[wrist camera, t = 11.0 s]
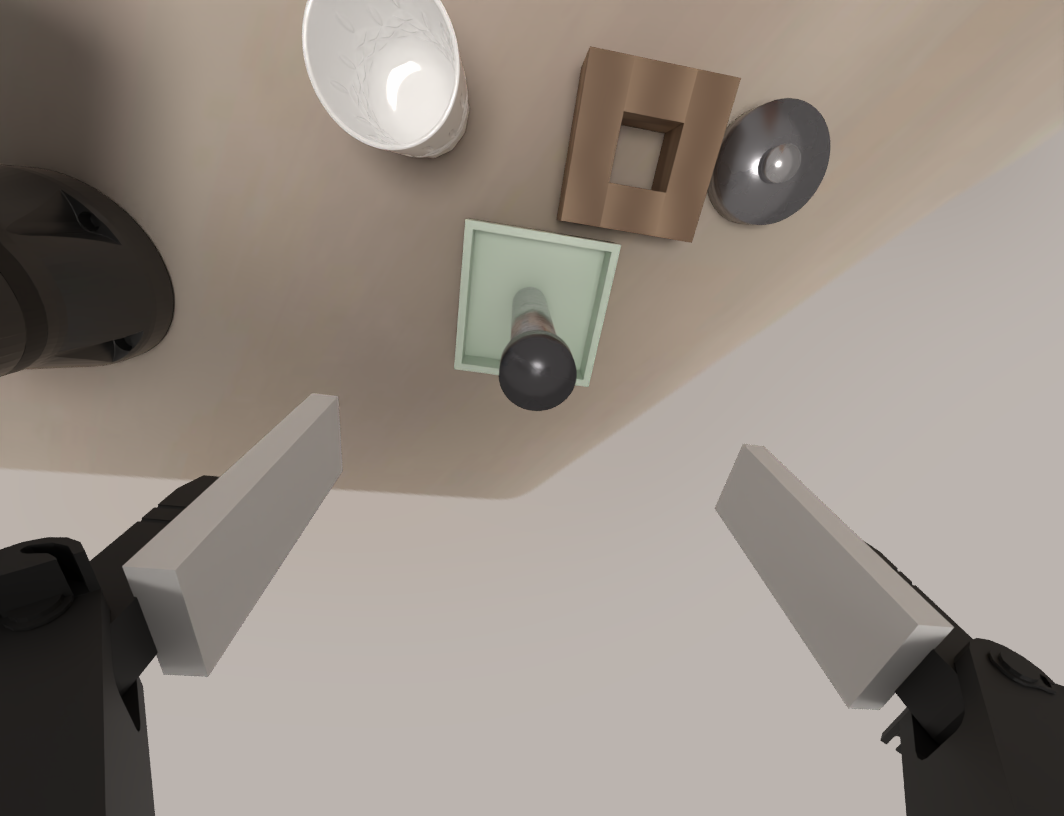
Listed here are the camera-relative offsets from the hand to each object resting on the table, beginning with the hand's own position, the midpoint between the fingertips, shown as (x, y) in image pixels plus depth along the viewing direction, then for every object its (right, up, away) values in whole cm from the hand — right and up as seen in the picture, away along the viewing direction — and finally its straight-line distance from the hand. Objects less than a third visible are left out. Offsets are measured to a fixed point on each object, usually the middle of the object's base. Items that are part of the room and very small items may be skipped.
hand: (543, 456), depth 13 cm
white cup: (-8, +24, +17) cm, 30 cm away
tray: (0, +11, +23) cm, 25 cm away
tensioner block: (+7, +21, +18) cm, 29 cm away
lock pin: (-1, +11, +22) cm, 25 cm away
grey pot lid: (+17, +20, +19) cm, 33 cm away
